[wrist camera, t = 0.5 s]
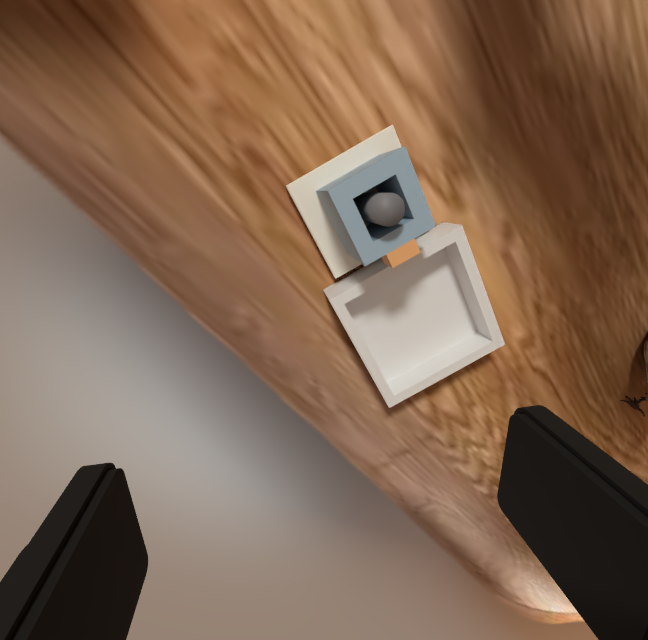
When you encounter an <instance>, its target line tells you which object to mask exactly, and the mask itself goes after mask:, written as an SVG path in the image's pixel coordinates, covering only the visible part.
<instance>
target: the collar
mask: <svg viewBox="0 0 648 640" xmlns="http://www.w3.org/2000/svg"><path fill="white" fill-rule="evenodd" d="M374 186H375V187H376V189H377V191H378V193H395V194H397V195H399V196H400V197H401V198H402V199H403V201H404V204H405V213H404V216H403V218H402V220H401V221H400V222H399V223H398V224H396V225H394V226H390V227H387V226H383V225H379V224H375V223H371V224H370V225H368V226H365V224H364V222H363V220H362V218H361V215H360V213H359V211H358V209H357V207H356V205H355V203H354V201H353V198H355V197H357V196H359V195H360V194H362V193H364V192H366V191H367V190H369V189H371V188H373V187H374ZM316 192H317V194H318V196H319V198H320V200H321V202H322V204H323V206H324V208H325V210H326V212H327V214H328V216H329V218H330V220H331V222H332V224H333V226H334V228H335V230H336V232H337V234H338V236H339V238H340V240H341V242H342V244H343V246H344V248H345V250H346V252H347V253H348V254H349V255H350V256H352V257H353V258H354V259H356V260H357V261H358V262H360V263H361V264H362V265H364V266H367V265H368V264H370V263H372V262H374V261H376V260H377V259H379V258H381V257H382V259H383V261H384V263H385V264H386V265H388V266H390V267H391V268H394V267H396V266H398V265H400V264H401V263H403V262H405V261H407V260H408V259H410V258H412V257H414V256H416V255H417V254H419V253H421V252H420V250H419V247H418V245H417V242H416V240H415V238H416V237H418V236H420V235H422V234H423V233H425V232H427V231H429V230H430V229H432V228H434V227H436V224H435V222H434V219H433V217H432V214H431V212H430V209H429V206H428V204H427V201H426V199H425V196H424V194H423V191H422V188H421V186H420V183H419V181H418V178H417V176H416V173H415V171H414V168H413V165H412V163H411V160H410V158H409V155H408V153H407V150H406V147H405V146H404V147H401V148H398V149H395V150H392V151H389V152H386V153H383V154H380V155H377V156H376V157H374V158H372V159H370V160H369V161H367V162H365V163H364V164H362V165H360V166H358V167H357V168H355V169H353V170H351V171H350V172H348V173H346V174H344V175H343V176H341V177H339V178H337V179H336V180H334V181H332V182H330V183H329V184H327V185H325V186H323V187H322V188H320V189H318V190H317V191H316Z"/></svg>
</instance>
